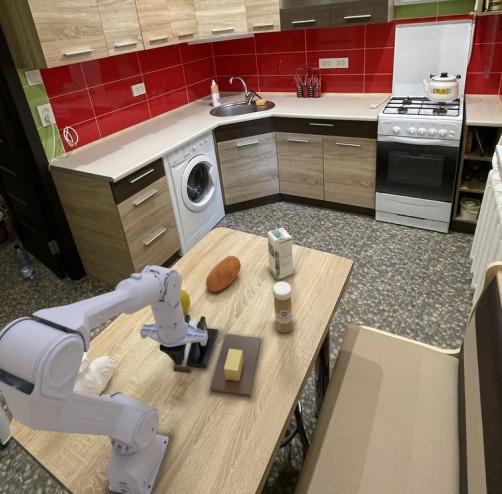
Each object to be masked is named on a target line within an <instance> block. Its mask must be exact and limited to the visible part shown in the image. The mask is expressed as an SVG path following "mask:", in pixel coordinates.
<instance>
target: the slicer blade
mask: <svg viewBox="0 0 502 494" xmlns="http://www.w3.org/2000/svg"><path fill="white" fill-rule="evenodd" d="M198 323H199V320H195V319H193V320H192V319H191V320H190V321H189V324H190V325H192V326H194V327H196V328H197V326H198ZM191 347H192V343H188V344H186V348H185V355H184V360H183V362H182V365H176V364H175V365H174V366H173V368H172V369H173V372H175V373H180V374H181V373H182V374H188V375H191V374H192V372H193V366H187V363H188V359H189V355H190V351H191Z"/></svg>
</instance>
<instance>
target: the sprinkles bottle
mask: <svg viewBox="0 0 502 494" xmlns="http://www.w3.org/2000/svg"><path fill="white" fill-rule="evenodd" d="M272 294H273V300H274V301H273V304H274V305H273V306H274V318H275V329H276V330H277V331H278V332H279V333H282V334H286V333H289V332H290V331H292V330H293V308H292V307H293V305H292V286H291V284H290V283H288V282H286V281H277V282H276V283H274V285H273V287H272Z"/></svg>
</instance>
